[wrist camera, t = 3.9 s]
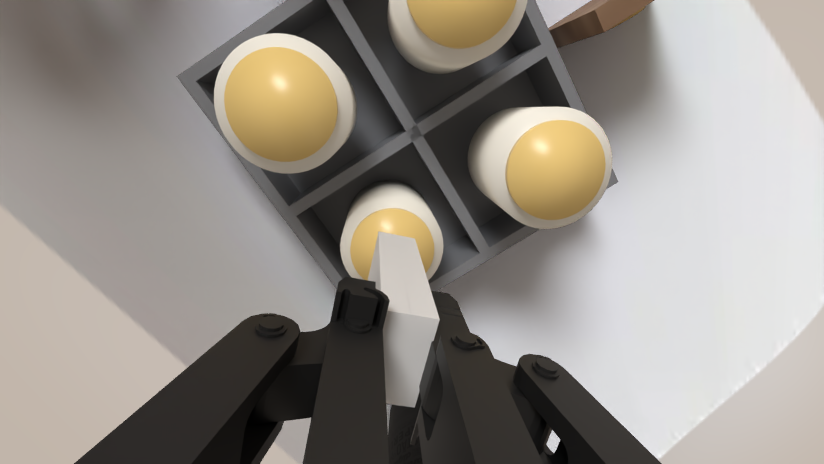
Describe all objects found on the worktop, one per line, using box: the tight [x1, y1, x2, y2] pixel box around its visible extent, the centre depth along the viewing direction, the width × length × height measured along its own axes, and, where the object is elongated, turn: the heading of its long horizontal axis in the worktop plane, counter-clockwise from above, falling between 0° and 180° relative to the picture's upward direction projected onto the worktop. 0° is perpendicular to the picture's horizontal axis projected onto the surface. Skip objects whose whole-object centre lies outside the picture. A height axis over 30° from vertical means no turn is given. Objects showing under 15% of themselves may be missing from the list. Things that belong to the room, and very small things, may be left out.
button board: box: [177, 0, 618, 291], centre depth 23 cm, size 16×16×4 cm
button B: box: [387, 0, 527, 74], centre depth 17 cm, size 5×5×5 cm
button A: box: [214, 33, 357, 174], centre depth 18 cm, size 5×5×5 cm
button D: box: [468, 107, 612, 229], centre depth 19 cm, size 5×5×5 cm
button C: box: [340, 180, 443, 280], centre depth 22 cm, size 5×5×5 cm
